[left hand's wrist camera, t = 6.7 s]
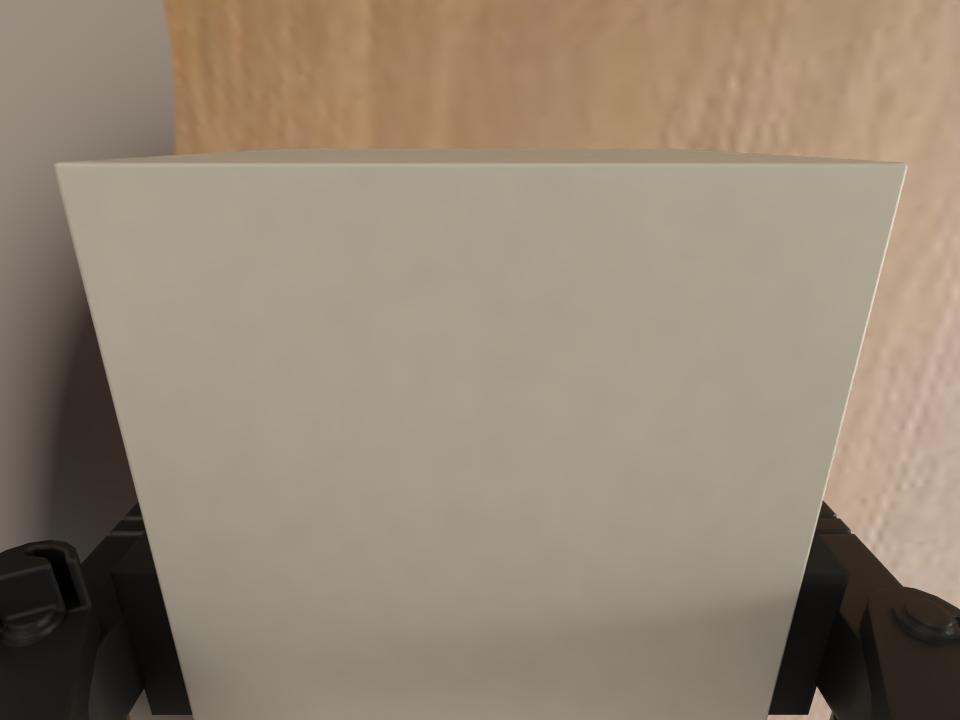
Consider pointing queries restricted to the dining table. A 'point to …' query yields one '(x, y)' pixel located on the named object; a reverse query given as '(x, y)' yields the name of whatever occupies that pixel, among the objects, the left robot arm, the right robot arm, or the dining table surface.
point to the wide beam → (480, 417)
